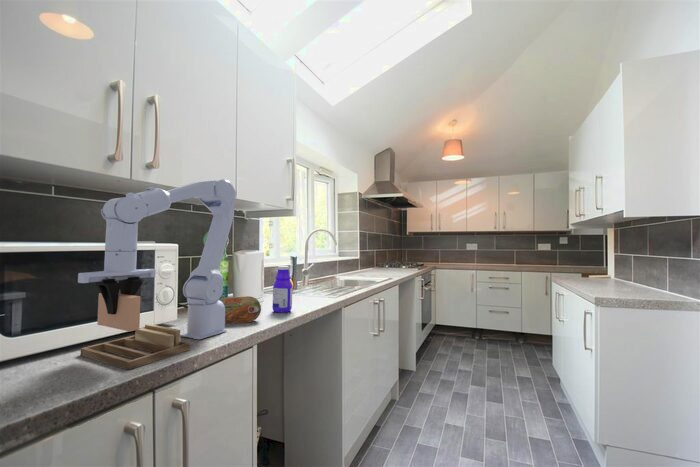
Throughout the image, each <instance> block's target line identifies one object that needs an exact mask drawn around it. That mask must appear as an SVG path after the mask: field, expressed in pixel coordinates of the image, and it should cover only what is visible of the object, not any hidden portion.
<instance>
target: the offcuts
mask: <svg viewBox="0 0 700 467" xmlns="http://www.w3.org/2000/svg"><path fill="white" fill-rule="evenodd" d="M134 331H135V334H134V335H135V340H138V341H142V342H146V343H151V344H155V345H159V346H163V347H168V348H172V347H175V346H179V345H180V341H181V336H180V334H181V330H180V329H177V328H172V327H167V326H161V325H156V324H152V323H151V324H150V323H148V324H145V325H144V327H141V328H140V327H139V329H138V330H134Z"/></svg>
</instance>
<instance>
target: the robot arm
mask: <svg viewBox="0 0 700 467" xmlns="http://www.w3.org/2000/svg"><path fill="white" fill-rule="evenodd" d="M236 196H237V191H236V189H235V187H234V185H233V184H232V182H230V181H229V179H224V178H223V179H219V180H206V181H197V182H191V183H188V184H185V185H181V186H177V187H175V188H172V189H168V190H165V189H162V188H160V187H156V188H155V186H150V187H146V188H145V191H141V192H136V193H133V192H128V193H125V196H124V197H116V198H111V199H109V200H107V201H106V202H105V203H104V205H103V208H101V209H100V214H101V216H102V219H103V220H105V223H106V225H105V229H106V230H105V242H104V246H105V247H104V265H103V266H104V267H103V268H104V269H103V270H102V271H101V270H100V271H89V272H78V274H77V283H79V284H89V283H95V287H96V288H97V289H98V291H99V292H100V293H101V294H102V296H103V299H104V301H105V304H106V308H107V313H108V314H112V315H113V314H116V313H117V304H118V294H126V295H133V296H136V295H137V293H138V290H139V289H140V288H141V286H142V285H143V281H144V280H143V279H145V278H155V277H156V271H157V270H156V268H141V269H140V268H139V269H137V259H138V258H137V256H138V254H137V253H138V236H139V235H138V231H139V222H140V221H142V220H143V218H146V217H149V216H152V215H156V214H159V213H162V212H165V211H167V210H169V209H170V208H171V204H172V203H176V202H180V201H184V200H188V199H190V198H194V199H198V200H199V201H200V202H201V203H202V204H203V205H204V206H205V207H206V208H207V209H208V211H209V212H211V214H212V216H213V217H212V220H211V223H210V226H209V229H208V233H207V236H206V240H205V242H204V245H203V246H204V247H203V249H202V253H201V257H200V260H199V263H198V266H197V267H196V268H194V270H192V271H191V272H190V274H189V277H188V279H187V280H186V281H185V282H184V284H183V287H182V294H183V296H184V297H185V298H186V302H187V303H188V304H187V325H186V328H187V329H186V331H185V332H180V337H184V338H189V339H193V340H202V339H205V338H210V337H213V336H215V335H219V334H222V333H224V332H227V330H228V329H227V328H226V324H225V306H224V304H223V303H222V302H221V301H219V299H221V298H222V295H223V292H224V287H223V282H224V276H223V275H222V273H221V272H220V270H219V269H220V267H221V263H222V259H223V256H224V252H225V249H226V245H227V241H228V238H229V234H230V232H231V228H232V225H233V224H232V223H233V220H234V217H235V200H236V198H237V197H236Z"/></svg>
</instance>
